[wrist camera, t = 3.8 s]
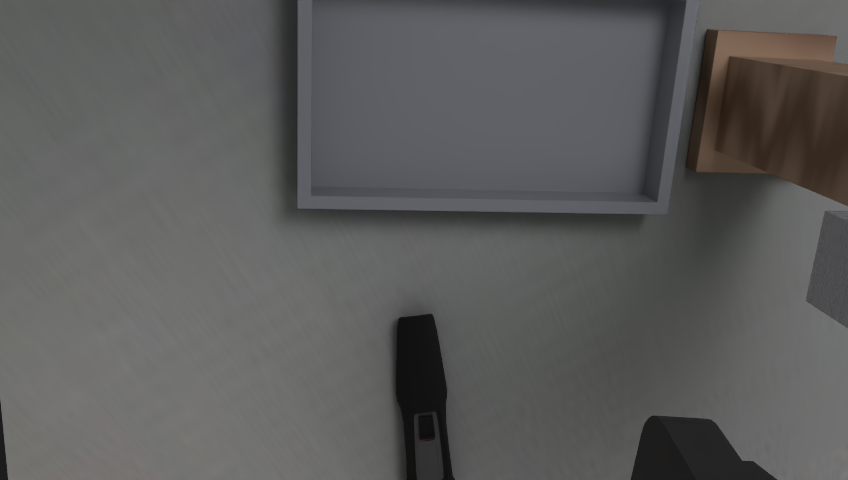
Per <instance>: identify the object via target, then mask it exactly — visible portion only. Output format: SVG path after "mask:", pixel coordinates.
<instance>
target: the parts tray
mask: <svg viewBox="0 0 848 480" xmlns="http://www.w3.org/2000/svg"><path fill="white" fill-rule="evenodd" d="M699 1H700V0H298V185H297V209H357V210H418V211H480V212H542V213H603V214H665V215H668V208H669V201H670V195H671V188H672V181H673V175H674V168H675V161H676V155H677V148H678V141H679V135H680V128H681V121H682V115H683V108H684V101H685V95H686V88H687V81H688V75H689V68H690V61H691V55H692V48H693V41H694V35H695V28H696V21H697V15H698V8H699Z"/></svg>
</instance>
